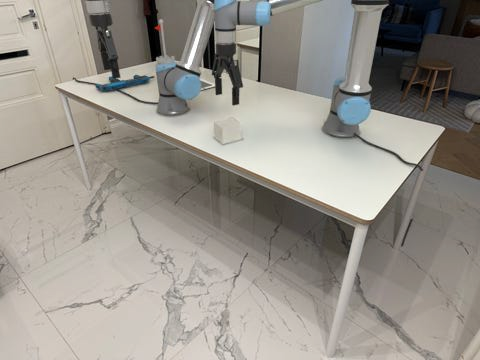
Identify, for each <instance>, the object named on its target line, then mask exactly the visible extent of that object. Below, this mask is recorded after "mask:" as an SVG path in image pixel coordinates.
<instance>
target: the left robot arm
mask: <svg viewBox="0 0 480 360" xmlns="http://www.w3.org/2000/svg"><path fill="white" fill-rule="evenodd" d="M195 1H196V3H197V6H196V9H195V13H194V16H193V19H192V23H191V26H190V29H189V32H188V35H187V39H186V42H185V46H184V49H183V52H182V55H181V58H180V60H179V61H175V62H169V63H162V64H159V65H158V64H157V65H155V75H156V82H157V89H158V102H157V101H155V102H154V101H146V100H143V99H142V100H141V99H138V98H137V97H135V96H133V95H131V94H129V93H127V92H125V91H123V90H122V89H119V88H117V89H114V91H117V92H120V93H122V94H124V95H126V96H128V97H129V98H132V99H133V100H135V101H137V102H140V103H144V104H150V105H157V107H156V110H157V113H158V114H159V115H162V116H168V117H174V116H180V115H183V114H186V113H187V112H188V111H189V103H188V102H187V101H190V100H193V99H195V98H196V97H197V96H199V94H200V93H201V91H202V90H201V87H202V84H201V81H200V79H199V78H201V75H202V72H201V69H200V66H201V64H202V62H203V57H204V54H205V51H206V48H207V45H208V43H209V39H210V36H211V33H212V30H213V27H214V25H215V18H214V0H195ZM111 5H112V4H111V2H110V1H109V0H85V7H86V10H87V13H88V14H89V15H88V18H89V23H90V25H91V27H93V28H95V31H96V32H95V33H96V39H97V49H98V50H99V52H100V56H101V62H102V66H103V71H109V70H110V71H111V77H113V79H115V78H116V79H121V72H120V67H119V64H118V63H119V62H118V60H119V56H118V53H117V49H116V46H115V43H114V38H113V35H112V31H111V30H110V29H109V28H108V27H110V26H113V18H112V14H111V13H110V12H111V8H110V6H111ZM72 80H73V81H74V80H75V82H77V83H81V84H89V85H93V86H94V85H95V84H97V83H96V82H90V81H84V80H78V79H77V78H76V77H74V76H73V77H72Z"/></svg>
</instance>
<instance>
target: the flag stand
mask: <svg viewBox="0 0 480 360" xmlns="http://www.w3.org/2000/svg"><path fill="white" fill-rule="evenodd" d="M154 29H155V30H157V31H159V32H161V33H160V34H161V40H162V49H163V55H159V56H156V58H155V60H156V63H157V65H159V64H162V63H169V62H176V57H175V56H174V55H171V56H170V55H167V50H166V41H165V32H164V20H163V19H162V18H161V19H159V20H158V25H157V26H155V27H154Z"/></svg>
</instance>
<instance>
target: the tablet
mask: <svg viewBox="0 0 480 360" xmlns="http://www.w3.org/2000/svg"><path fill="white" fill-rule="evenodd" d="M199 79H200V81H201V84H202V87H201V91H206V90H209V89H212V88H215V82H212V81H209V80H206V79H204V78H201V77H200V78H199Z"/></svg>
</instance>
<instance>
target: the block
mask: <svg viewBox="0 0 480 360" xmlns="http://www.w3.org/2000/svg"><path fill="white" fill-rule="evenodd" d="M213 136H214V139H216V141H218V142H219V143H221V145H225V144H231V143H233V142H236V141H237V142H238V141H240V140H241V141H242V139H243V123H242V122H241V121H239V120H238V119H236V118H235V117H233V116H231V117H228V118H227V117H226V118H223V119H219V120H215V121H213Z"/></svg>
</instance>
